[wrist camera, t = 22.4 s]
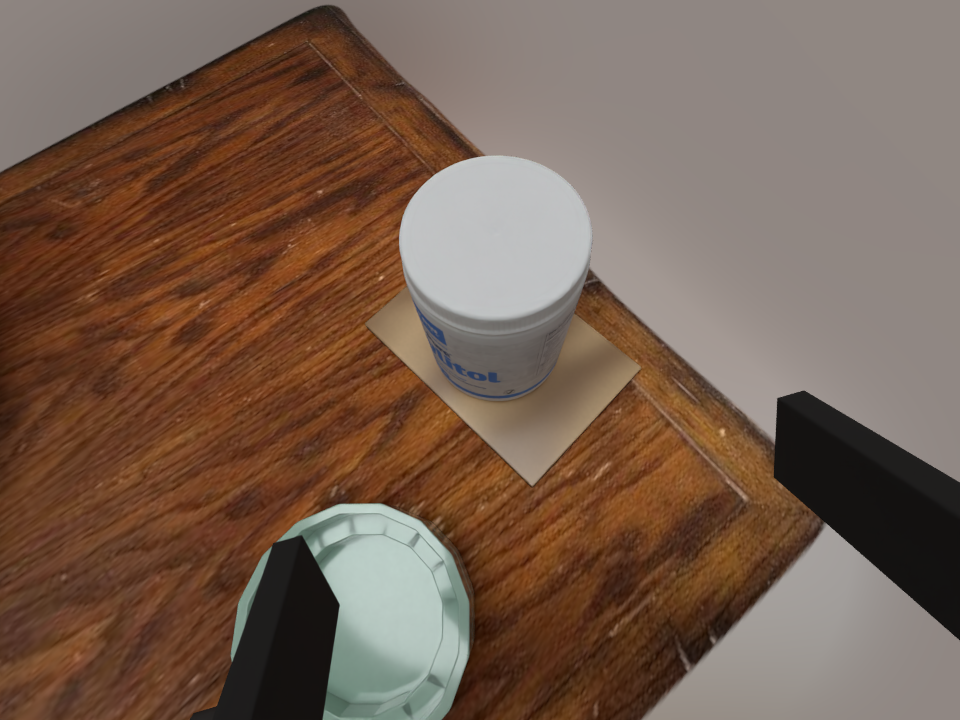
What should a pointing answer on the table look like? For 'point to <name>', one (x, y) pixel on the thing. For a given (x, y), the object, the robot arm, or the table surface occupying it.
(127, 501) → the table surface
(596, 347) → the mat
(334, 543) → the bowl
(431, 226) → the supplement tub
